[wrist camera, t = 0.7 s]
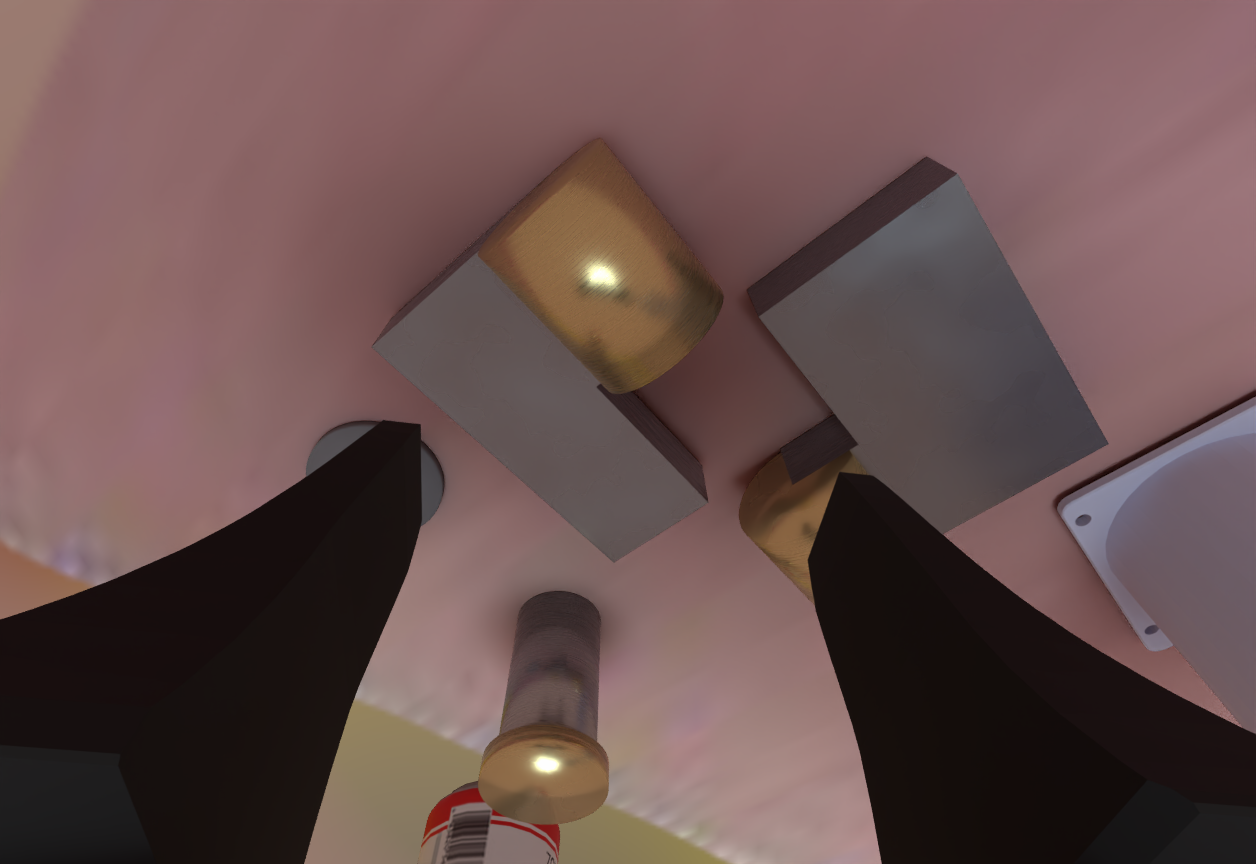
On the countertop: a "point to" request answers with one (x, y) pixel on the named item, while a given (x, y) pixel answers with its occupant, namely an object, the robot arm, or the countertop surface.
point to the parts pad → (354, 430)
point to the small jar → (549, 717)
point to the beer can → (483, 834)
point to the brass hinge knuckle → (569, 349)
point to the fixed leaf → (911, 369)
